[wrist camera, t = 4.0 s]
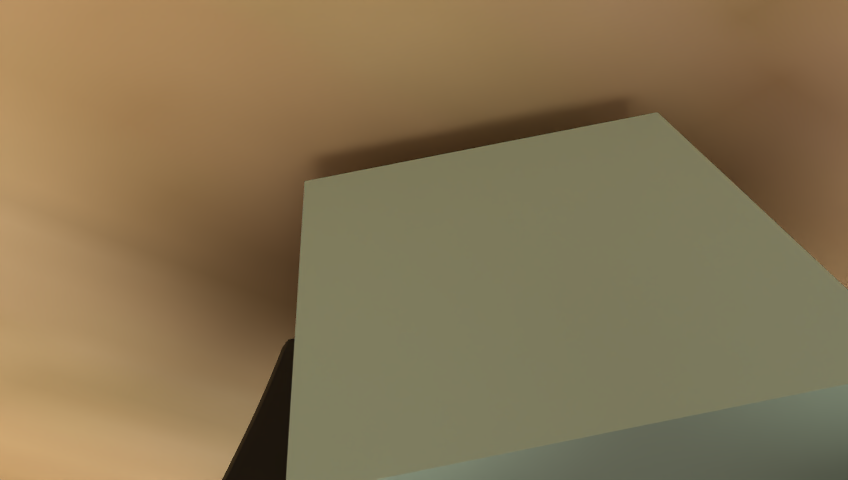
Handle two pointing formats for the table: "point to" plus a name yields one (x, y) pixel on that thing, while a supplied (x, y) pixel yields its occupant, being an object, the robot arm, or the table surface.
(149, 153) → the table surface
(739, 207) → the sage block
